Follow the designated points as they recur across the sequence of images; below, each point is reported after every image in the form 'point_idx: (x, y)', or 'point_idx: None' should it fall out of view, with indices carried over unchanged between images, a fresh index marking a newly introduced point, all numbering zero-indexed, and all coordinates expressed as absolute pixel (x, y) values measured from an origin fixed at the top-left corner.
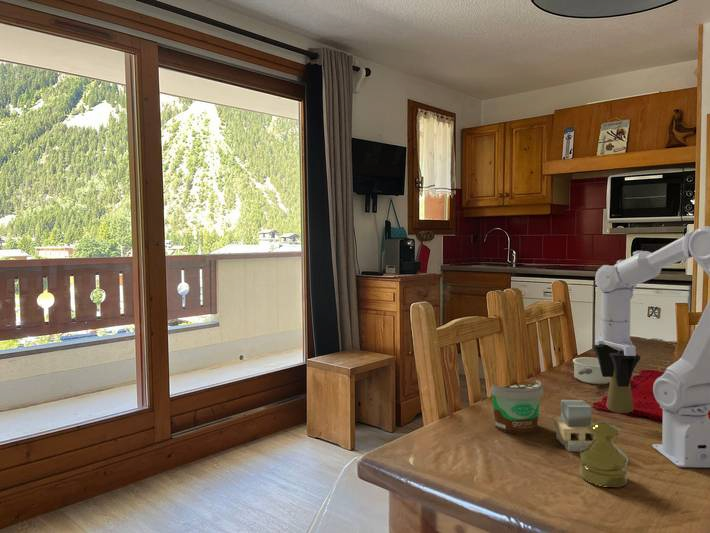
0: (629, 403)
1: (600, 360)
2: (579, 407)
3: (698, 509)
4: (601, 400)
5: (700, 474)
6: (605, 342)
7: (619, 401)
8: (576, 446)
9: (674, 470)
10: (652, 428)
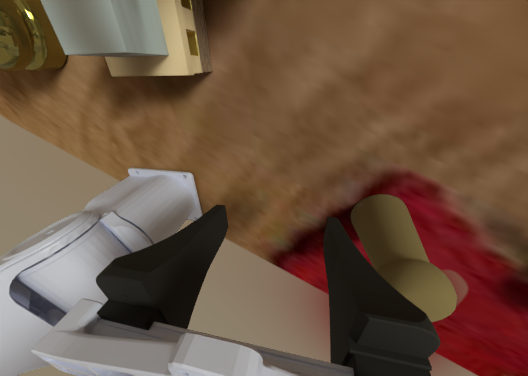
0: (357, 232)
1: (340, 258)
2: (45, 5)
3: (27, 127)
4: (449, 211)
5: None
6: (166, 362)
7: (363, 220)
8: None
9: (121, 158)
10: (272, 212)
